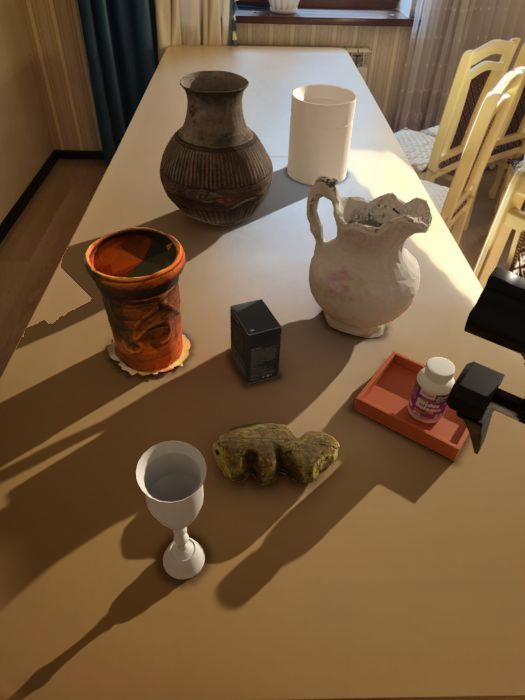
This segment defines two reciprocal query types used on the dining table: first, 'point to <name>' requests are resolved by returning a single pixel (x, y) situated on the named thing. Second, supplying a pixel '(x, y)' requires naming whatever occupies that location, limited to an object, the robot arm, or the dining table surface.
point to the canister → (320, 132)
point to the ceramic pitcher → (364, 258)
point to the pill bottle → (432, 390)
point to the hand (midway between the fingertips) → (517, 471)
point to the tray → (392, 407)
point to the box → (255, 341)
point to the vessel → (141, 297)
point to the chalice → (175, 500)
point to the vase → (215, 153)
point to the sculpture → (273, 453)
